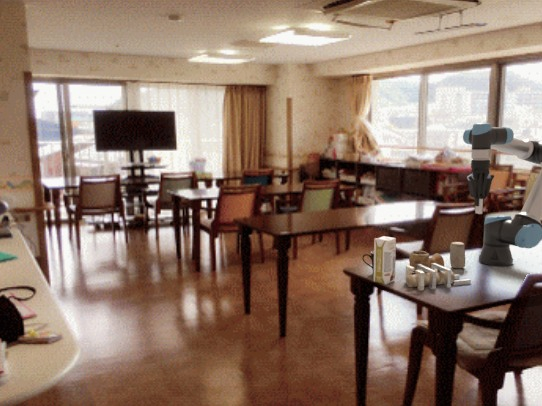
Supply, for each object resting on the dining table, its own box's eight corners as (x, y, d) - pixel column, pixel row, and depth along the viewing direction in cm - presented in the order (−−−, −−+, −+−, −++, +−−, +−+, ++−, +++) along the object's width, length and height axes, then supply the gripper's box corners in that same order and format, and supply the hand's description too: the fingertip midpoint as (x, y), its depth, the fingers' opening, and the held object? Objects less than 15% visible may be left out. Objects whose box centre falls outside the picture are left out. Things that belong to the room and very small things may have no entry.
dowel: (447, 280, 211) (447, 269, 210) (454, 284, 206) (455, 272, 205) (405, 284, 206) (406, 273, 205) (412, 288, 201) (412, 277, 200)
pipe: (447, 273, 222) (448, 252, 220) (417, 277, 216) (417, 255, 215) (434, 268, 230) (435, 247, 229) (405, 272, 225) (405, 251, 224)
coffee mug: (393, 273, 223) (393, 252, 221) (383, 277, 216) (384, 255, 215) (371, 269, 230) (371, 248, 229) (361, 273, 224) (361, 251, 223)
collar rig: (455, 277, 216) (456, 261, 215) (472, 284, 205) (473, 267, 204) (405, 282, 209) (405, 265, 208) (420, 290, 198) (420, 272, 197)
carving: (455, 265, 236) (456, 240, 234) (468, 268, 229) (469, 243, 228) (446, 266, 233) (446, 242, 231) (458, 270, 226) (459, 245, 225)
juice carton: (397, 281, 211) (398, 237, 209) (386, 285, 206) (387, 240, 203) (382, 277, 217) (382, 235, 214) (371, 281, 211) (371, 238, 208)
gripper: (487, 158, 217) (485, 211, 220) (462, 159, 213) (460, 213, 216) (499, 159, 210) (497, 213, 213) (473, 160, 206) (471, 215, 209)
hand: (478, 213), depth 215 cm, fingers closed
